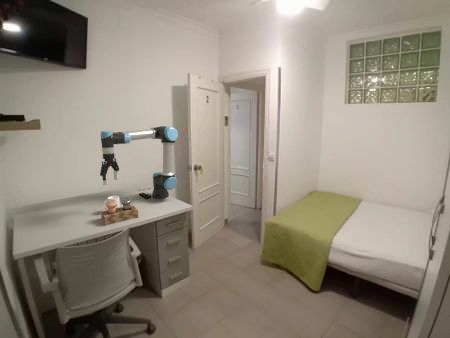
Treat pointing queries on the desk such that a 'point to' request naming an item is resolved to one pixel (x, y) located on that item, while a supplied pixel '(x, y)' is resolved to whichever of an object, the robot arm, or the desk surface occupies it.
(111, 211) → the peach ball
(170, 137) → the robot arm
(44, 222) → the desk surface
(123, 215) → the block
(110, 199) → the mug
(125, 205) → the ball grey
